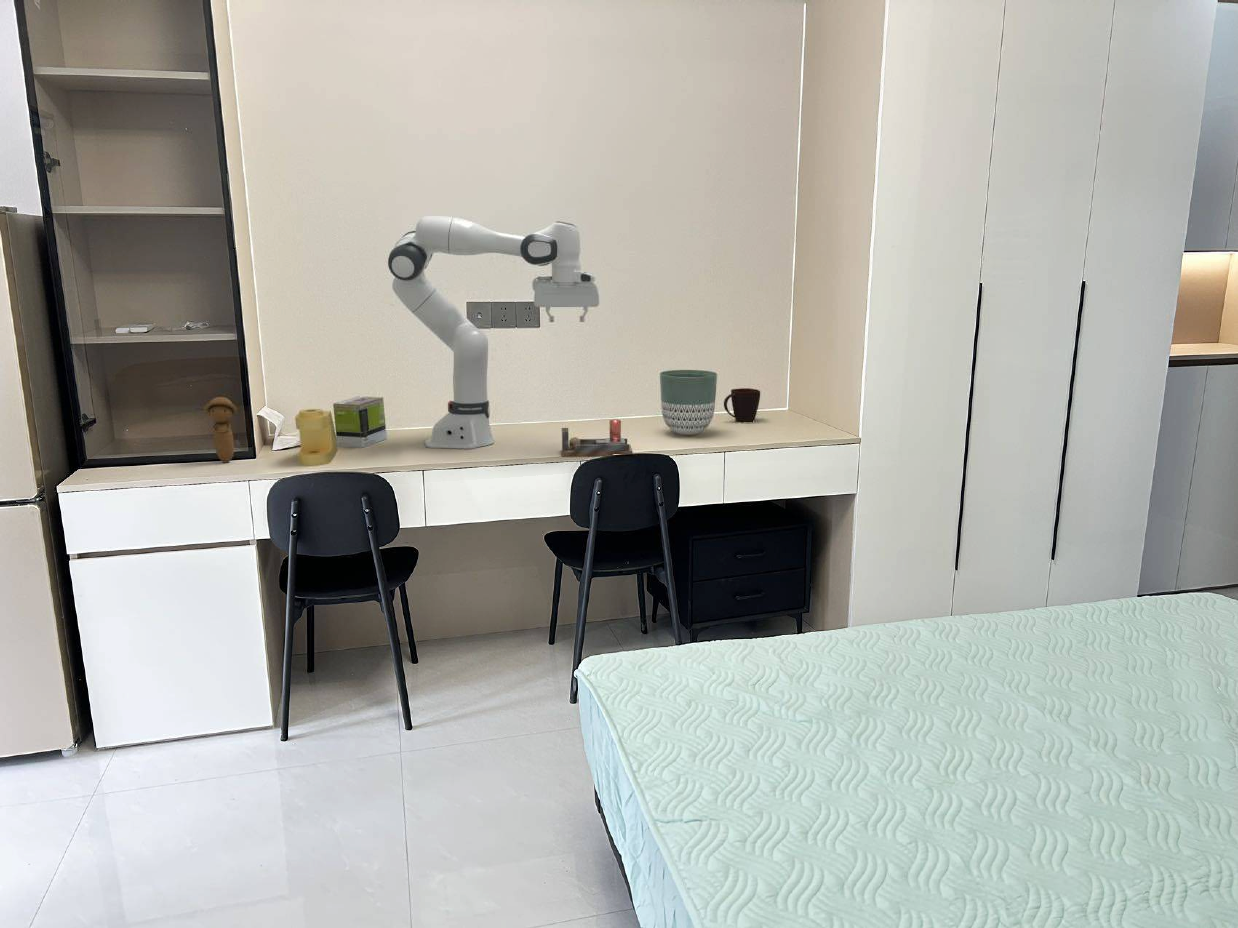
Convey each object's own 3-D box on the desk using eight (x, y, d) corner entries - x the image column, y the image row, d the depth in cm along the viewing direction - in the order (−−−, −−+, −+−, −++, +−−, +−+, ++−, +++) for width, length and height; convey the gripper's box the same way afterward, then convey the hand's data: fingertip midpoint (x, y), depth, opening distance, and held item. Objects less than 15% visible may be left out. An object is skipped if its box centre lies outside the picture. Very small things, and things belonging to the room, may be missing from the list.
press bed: (562, 456, 275) (562, 433, 273) (562, 449, 285) (561, 427, 283) (632, 455, 276) (632, 432, 275) (630, 448, 286) (630, 426, 284)
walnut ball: (569, 449, 278) (569, 438, 277) (569, 447, 281) (569, 436, 280) (580, 449, 278) (580, 438, 277) (580, 447, 282) (580, 436, 281)
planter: (725, 437, 304) (727, 375, 299) (674, 441, 297) (675, 378, 292) (699, 427, 322) (700, 368, 317) (650, 431, 315) (650, 371, 310)
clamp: (329, 465, 264) (324, 413, 260) (296, 466, 262) (292, 414, 258) (337, 451, 283) (333, 402, 279) (307, 452, 281) (303, 403, 278)
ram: (596, 450, 277) (596, 422, 275) (596, 445, 283) (595, 418, 281) (625, 449, 277) (625, 422, 275) (623, 445, 284) (623, 418, 282)
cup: (763, 423, 330) (764, 391, 327) (730, 425, 324) (731, 393, 322) (749, 418, 339) (750, 387, 336) (717, 421, 333) (718, 389, 330)
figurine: (207, 465, 263) (200, 399, 259) (212, 460, 270) (205, 395, 265) (240, 464, 265) (233, 398, 261) (244, 458, 272) (237, 394, 267)
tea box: (362, 437, 303) (359, 395, 300) (387, 439, 300) (384, 396, 297) (335, 446, 290) (332, 402, 286) (362, 448, 287) (359, 403, 283)
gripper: (531, 276, 266) (533, 322, 270) (599, 276, 268) (599, 322, 271) (532, 276, 272) (533, 321, 276) (598, 276, 274) (598, 321, 277)
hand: (566, 321), depth 273 cm, fingers open, 8 cm apart
